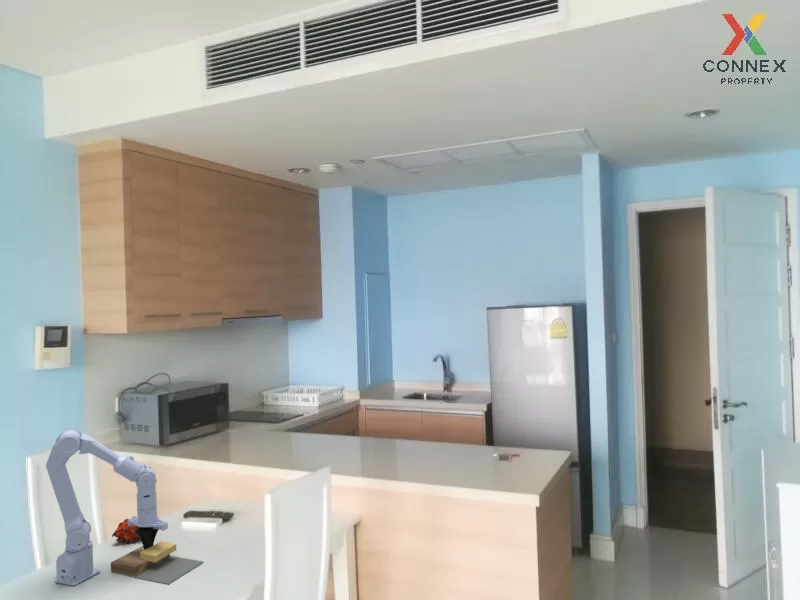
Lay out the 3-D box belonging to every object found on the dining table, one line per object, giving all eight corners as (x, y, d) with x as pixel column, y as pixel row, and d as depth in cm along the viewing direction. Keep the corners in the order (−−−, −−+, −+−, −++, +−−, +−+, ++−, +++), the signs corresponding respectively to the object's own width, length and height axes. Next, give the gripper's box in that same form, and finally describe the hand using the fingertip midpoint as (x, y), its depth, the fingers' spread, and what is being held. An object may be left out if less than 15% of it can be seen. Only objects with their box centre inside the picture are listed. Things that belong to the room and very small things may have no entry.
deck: (135, 577, 179) (135, 567, 179) (111, 572, 183) (110, 562, 183) (170, 557, 192) (169, 548, 192) (146, 553, 196) (145, 544, 196)
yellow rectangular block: (155, 562, 182) (155, 556, 182) (139, 558, 184) (139, 552, 184) (176, 550, 190) (176, 544, 190) (161, 547, 193) (161, 540, 193)
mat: (168, 584, 174) (168, 583, 174) (134, 577, 179) (134, 576, 179) (203, 562, 188) (203, 561, 188) (171, 556, 192) (171, 555, 192)
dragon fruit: (152, 540, 210) (116, 555, 203) (144, 521, 215) (108, 535, 208) (152, 526, 205) (115, 540, 198) (144, 507, 210) (107, 520, 203)
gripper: (174, 505, 190) (175, 547, 190) (139, 500, 195) (140, 541, 195) (157, 513, 183) (159, 557, 183) (121, 508, 189) (123, 550, 189)
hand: (148, 550), depth 189 cm, fingers closed
